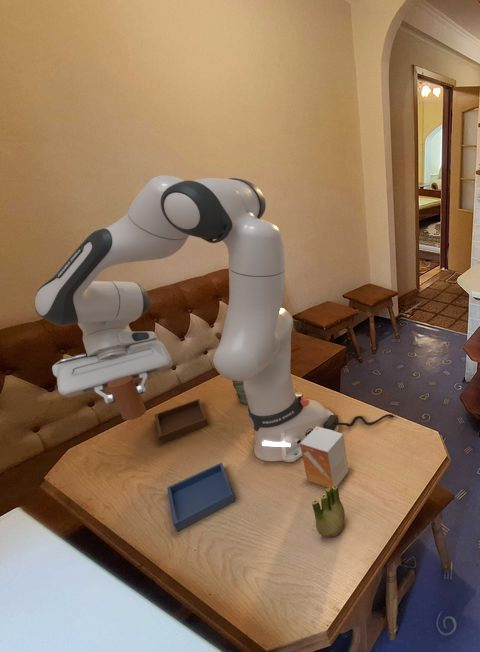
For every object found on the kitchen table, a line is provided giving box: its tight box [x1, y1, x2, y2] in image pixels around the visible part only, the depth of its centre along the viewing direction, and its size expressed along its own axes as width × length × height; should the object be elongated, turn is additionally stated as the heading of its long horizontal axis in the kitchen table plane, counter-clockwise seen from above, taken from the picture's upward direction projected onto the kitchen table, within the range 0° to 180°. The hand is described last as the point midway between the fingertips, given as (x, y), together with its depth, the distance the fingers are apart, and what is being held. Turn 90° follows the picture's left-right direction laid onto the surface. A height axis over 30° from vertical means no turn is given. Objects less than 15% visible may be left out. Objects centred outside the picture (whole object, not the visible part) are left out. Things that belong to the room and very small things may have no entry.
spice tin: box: [107, 376, 147, 421], centre depth 86 cm, size 4×4×10 cm
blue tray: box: [166, 461, 236, 533], centre depth 85 cm, size 11×12×2 cm
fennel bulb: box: [311, 484, 346, 538], centre depth 77 cm, size 6×5×12 cm
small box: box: [300, 426, 350, 489], centre depth 89 cm, size 8×6×13 cm
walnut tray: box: [154, 398, 209, 445], centre depth 107 cm, size 11×12×2 cm
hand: (127, 397), depth 86 cm, fingers closed on spice tin, 4 cm apart
